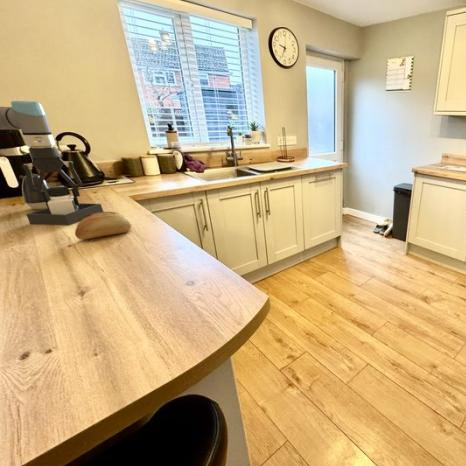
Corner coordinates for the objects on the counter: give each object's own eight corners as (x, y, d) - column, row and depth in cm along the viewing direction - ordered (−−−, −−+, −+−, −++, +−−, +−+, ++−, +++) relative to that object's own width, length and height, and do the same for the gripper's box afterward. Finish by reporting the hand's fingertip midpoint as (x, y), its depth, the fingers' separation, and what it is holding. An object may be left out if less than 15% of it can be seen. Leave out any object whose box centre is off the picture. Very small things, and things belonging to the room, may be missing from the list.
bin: (30, 224, 110) (25, 214, 108) (69, 211, 124) (66, 202, 123) (68, 225, 109) (64, 215, 107) (103, 212, 123) (100, 203, 122)
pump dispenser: (44, 204, 134) (31, 171, 128) (66, 205, 133) (54, 172, 128) (20, 211, 124) (5, 175, 119) (43, 211, 124) (29, 176, 118)
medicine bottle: (77, 217, 115) (67, 187, 111) (53, 220, 112) (41, 189, 107) (80, 212, 121) (70, 184, 116) (57, 215, 117) (46, 186, 113)
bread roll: (75, 237, 98) (67, 215, 95) (128, 226, 108) (122, 206, 105) (79, 245, 92) (71, 222, 89) (135, 233, 102) (129, 211, 99)
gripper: (-2, 149, 97) (25, 213, 106) (79, 146, 110) (97, 204, 118) (2, 147, 102) (28, 208, 111) (79, 144, 115) (96, 200, 124)
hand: (64, 206), depth 115 cm, fingers closed on medicine bottle, 8 cm apart
